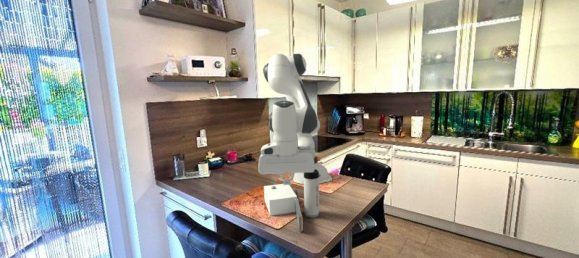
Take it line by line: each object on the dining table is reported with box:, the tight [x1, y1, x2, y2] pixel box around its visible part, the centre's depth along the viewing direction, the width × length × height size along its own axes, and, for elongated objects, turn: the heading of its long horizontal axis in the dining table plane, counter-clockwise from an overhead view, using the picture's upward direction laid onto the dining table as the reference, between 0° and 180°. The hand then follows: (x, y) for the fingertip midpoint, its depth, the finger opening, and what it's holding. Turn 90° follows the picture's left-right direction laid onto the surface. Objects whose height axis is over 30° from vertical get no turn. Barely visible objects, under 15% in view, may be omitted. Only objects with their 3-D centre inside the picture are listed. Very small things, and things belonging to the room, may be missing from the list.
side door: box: [295, 197, 304, 232], centre depth 99 cm, size 16×1×6 cm, turn 3°
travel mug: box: [303, 169, 320, 219], centre depth 103 cm, size 6×7×20 cm
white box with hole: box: [263, 183, 299, 217], centre depth 113 cm, size 14×16×8 cm
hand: (287, 184), depth 90 cm, fingers closed
